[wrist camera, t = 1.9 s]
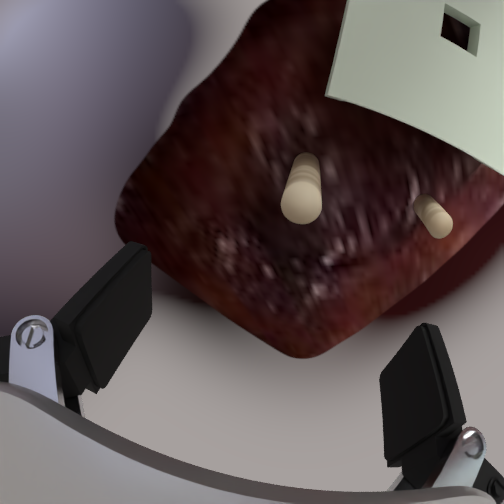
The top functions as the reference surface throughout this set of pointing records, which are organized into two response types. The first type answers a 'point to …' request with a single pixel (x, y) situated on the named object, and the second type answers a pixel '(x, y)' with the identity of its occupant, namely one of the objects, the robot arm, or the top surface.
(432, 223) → the short birch pin
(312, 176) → the long birch pin
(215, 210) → the top surface
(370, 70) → the plate
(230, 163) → the top surface
